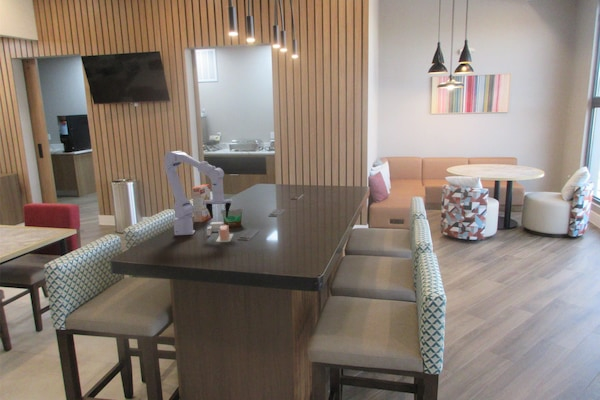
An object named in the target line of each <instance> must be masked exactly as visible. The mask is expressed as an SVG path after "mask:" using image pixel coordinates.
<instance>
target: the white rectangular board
mask: <svg viewBox="0 0 600 400" xmlns="http://www.w3.org/2000/svg"><path fill="white" fill-rule="evenodd" d="M233 237H234V233H229V236H228V239H227V240H220V235H219V234H218V237H217V239H216V241H215V243H231V241H232V240H233Z"/></svg>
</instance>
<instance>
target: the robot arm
mask: <svg viewBox="0 0 600 400" xmlns="http://www.w3.org/2000/svg"><path fill="white" fill-rule="evenodd" d="M163 161H164V172H165V174H166V177H167V181H168V183H169V185H170V189H171V191H172V195H173V197H174V200H175V202H174V205H173V207H174V214H175V216H176V217H174V218H173V230H174V236H188V235H189V236H191V235H194V233H195V232H196V230H195V229H194V223H193V214H194V207H193V203H191V201H190V199H188V198H187V197H186V194H185V192H184V189H183V186H182V183H181V180H180V177H179V174H178V171H177V169H178V167H179V166H180V165H181V164H182V163H185V164H187V165H190V166H191V167H195V168H196V169H197V171H198V172H199V173H201V174H203V175H205V176H207V177H209V179H210V182H211V195H212V198H211V200H205V201H204V205H206V208H207V209H208V211H209V213H210V216H211V218H210V219H214V213H213V205H223V204H224V207H225V209H224V210H226V218H228V212H229V210H230V209H231V206H232V204H234V199H225V197H224V195H225V194H224V180H223V178H224V177H225V172H224V170H223V169H222V167H216V166H215V165H211V164H209V162H208V161H206V160H205V161H199V160H198V159H196V158H194V157H192V156H191V155H190V154H187V153H186V152H185V151H183V150H174V151H168V152H166V153H165V154H164V156H163Z"/></svg>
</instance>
